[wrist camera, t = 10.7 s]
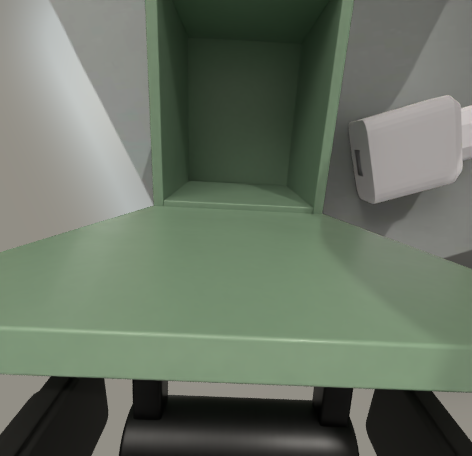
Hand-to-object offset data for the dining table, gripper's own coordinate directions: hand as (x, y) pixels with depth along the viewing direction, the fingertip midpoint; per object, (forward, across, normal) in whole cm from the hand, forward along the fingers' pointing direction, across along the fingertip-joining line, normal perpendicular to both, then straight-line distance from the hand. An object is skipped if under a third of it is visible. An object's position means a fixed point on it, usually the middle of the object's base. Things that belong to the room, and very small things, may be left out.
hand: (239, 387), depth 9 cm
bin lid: (+5, 0, -4) cm, 6 cm away
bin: (+27, 0, -11) cm, 29 cm away
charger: (+27, -21, -9) cm, 35 cm away
